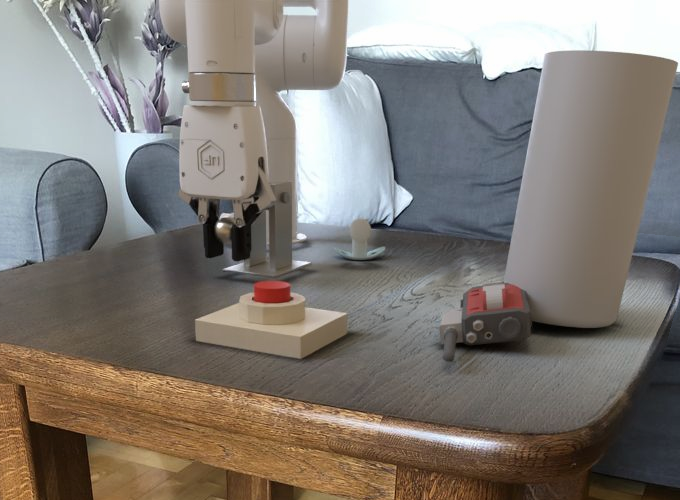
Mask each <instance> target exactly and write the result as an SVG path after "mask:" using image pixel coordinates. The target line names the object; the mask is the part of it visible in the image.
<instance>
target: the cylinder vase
mask: <svg viewBox="0 0 680 500" xmlns="http://www.w3.org/2000/svg"><path fill="white" fill-rule="evenodd" d="M678 66H679V61H677V60H674V59H670V58H665V57H662V56H657V55H656V56H655V55H650V54H642V53H634V52H633V53H632V52H624V51H623V52H622V51H609V50H585V49H584V50H582V49H580V50H573V49H572V50H556V51H555V50H554V51H551V52H550V51H549V52H545V54H544V55H543V61H542V67H541V73H540V78H539V83H538V90H537V95H536V100H535V107H534V111H533V115H532V117H533V118H532V122H531V130H530V133H529V139H528V145H527V150H526V156H525V161H524V165H523V166H524V167H523V173H522V178H521V184H520V189H519V195H518V200H517V205H516V212H515V217H514V222H513V227H512V233H511V239H510V244H509V245H510V246H509V250H508V255H507V261H506V266H505V272H504V276H503V281H504V283H509V284H512V285H515V286H517V287H519V288H520V289H522V290H524V291H526V295H527V300H528V305H529V309H530V310H531V315H532V322H535V323H540V324H544V325H545V324H546V325H552V326H558V327H559V326H560V327H567V328H580V329H594V328H595V329H597V328H605V327H609V326H611V325H613V324H614V323H615V322H616V321H617V319H618V316H619V313H620V308H621V304H622V300H623V295H624V292H625V288H626V283H627V279H628V275H629V270H630V266H631V262H632V258H633V254H634V250H635V245H636V242H637V237H638V233H639V229H640V223H641V221H642V216H643V212H644V208H645V204H646V199H647V196H648V191H649V188H650V183H651V179H652V175H653V171H654V166H655V163H656V158H657V154H658V150H659V145H660V141H661V137H662V133H663V129H664V125H665V121H666V116H667V113H668V108H669V104H670V99H671V95H672V91H673V86H674V83H675V79H676V75H677V71H678Z"/></svg>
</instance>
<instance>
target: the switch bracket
mask: <svg viewBox="0 0 680 500" xmlns="http://www.w3.org/2000/svg"><path fill="white" fill-rule="evenodd" d="M270 187H271V189H272V191H273V193H274V195H275V198H276V203H275V204H274V205H273V206H271V207H269V245H268V256H267V245H266V210H264V211H263V212H262V213H261V214H260V215H259V216H258V218H257V219H256V221H255V223H254V224H253V225H251V244H252V249H251V252H250V258H249V259H245V260H243V261H242V262H240V263H237V264H234V265H231V266H228V267H225V268H223V269H222V272H225V273H233V274H240V275H249V276H255V277H264V278H272V279H276V278H279V277H282V276H284V275H287V274H289V273H293V272H295V271H299V270H300V269H304V268H306V267H309V266H312V262H311V261H302V260H294V259H293V244H292V181H281V182H275V183H270ZM253 200H255V198H254V197H253Z"/></svg>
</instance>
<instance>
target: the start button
mask: <svg viewBox="0 0 680 500" xmlns="http://www.w3.org/2000/svg"><path fill="white" fill-rule="evenodd" d="M253 292H254V301H255V302H259V303H270V304H278V303H285V302H290V292H291V283H289V282H288V281H287V282H286V281H282V280H261V281H258V282H255V283H254V284H253Z"/></svg>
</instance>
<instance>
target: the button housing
mask: <svg viewBox="0 0 680 500" xmlns="http://www.w3.org/2000/svg"><path fill="white" fill-rule="evenodd" d="M194 326H195V327H194V328H195V341H196V342H201V343H207V344H213V345H219V346H223V347H229V348H236V349H241V350H246V351H252V352H259V353H264V354H271V355H276V356H282V357H288V358H293V359H299V360H302V359H303V358H305V357H308V356H309V355H311V354H313V353H314V352H316V351H318V350H320V349H322V348H323V347H326V346H327V345H329V344H331V343H333V342H335V341H336V340H338V339H340V338H342V337H344V336H345V335H347V334H348V313H347V312H343V311H342V312H341V311H334V310H328V309H321V308H314V307H308V306H307V307H306V298H305V296H304V295H301V294H300V293H297V292H292V291H290V302H285V303H278V304H270V303H259V302H255V301H254V291H253V292H248V293H246V294H243V295H240V296H239V301H238V302H237V303H235V304H232V305H230V306H227V307H224V308H221V309H219V310H217V311H214V312H211V313H209V314H206V315H203V316H201V317H198V318H196V319H194Z"/></svg>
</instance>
